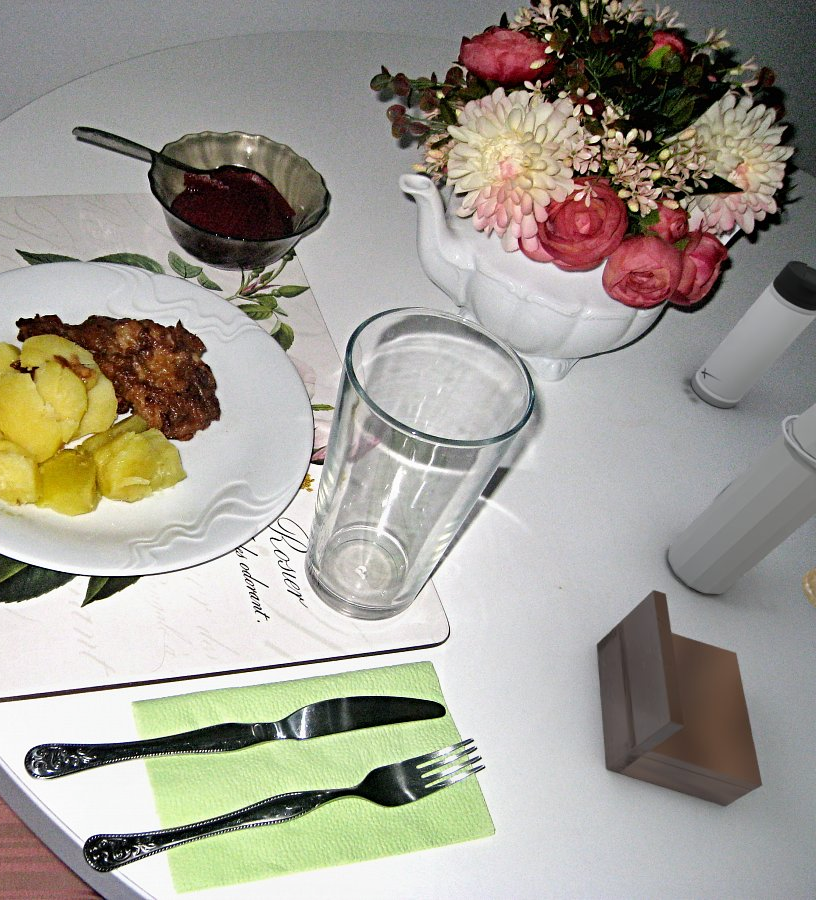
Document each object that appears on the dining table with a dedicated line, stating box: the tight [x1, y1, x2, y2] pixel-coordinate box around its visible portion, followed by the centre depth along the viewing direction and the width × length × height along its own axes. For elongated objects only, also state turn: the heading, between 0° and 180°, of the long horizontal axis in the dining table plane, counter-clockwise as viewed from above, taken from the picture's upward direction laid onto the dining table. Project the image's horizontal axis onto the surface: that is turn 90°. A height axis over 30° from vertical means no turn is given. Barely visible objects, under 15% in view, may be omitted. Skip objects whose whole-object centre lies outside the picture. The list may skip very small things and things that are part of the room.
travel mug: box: [691, 260, 816, 409], centre depth 111 cm, size 6×7×20 cm
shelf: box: [596, 589, 763, 807], centre depth 79 cm, size 11×13×10 cm
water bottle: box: [667, 402, 816, 595], centre depth 88 cm, size 9×8×25 cm
